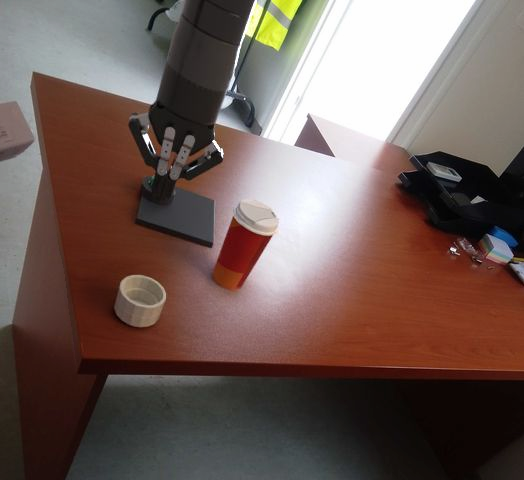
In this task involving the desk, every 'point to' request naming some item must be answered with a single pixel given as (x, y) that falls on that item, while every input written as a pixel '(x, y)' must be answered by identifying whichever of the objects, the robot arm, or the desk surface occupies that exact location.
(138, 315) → the bowl
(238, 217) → the paper cup
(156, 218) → the scale
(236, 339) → the desk surface
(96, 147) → the desk surface
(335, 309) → the desk surface
